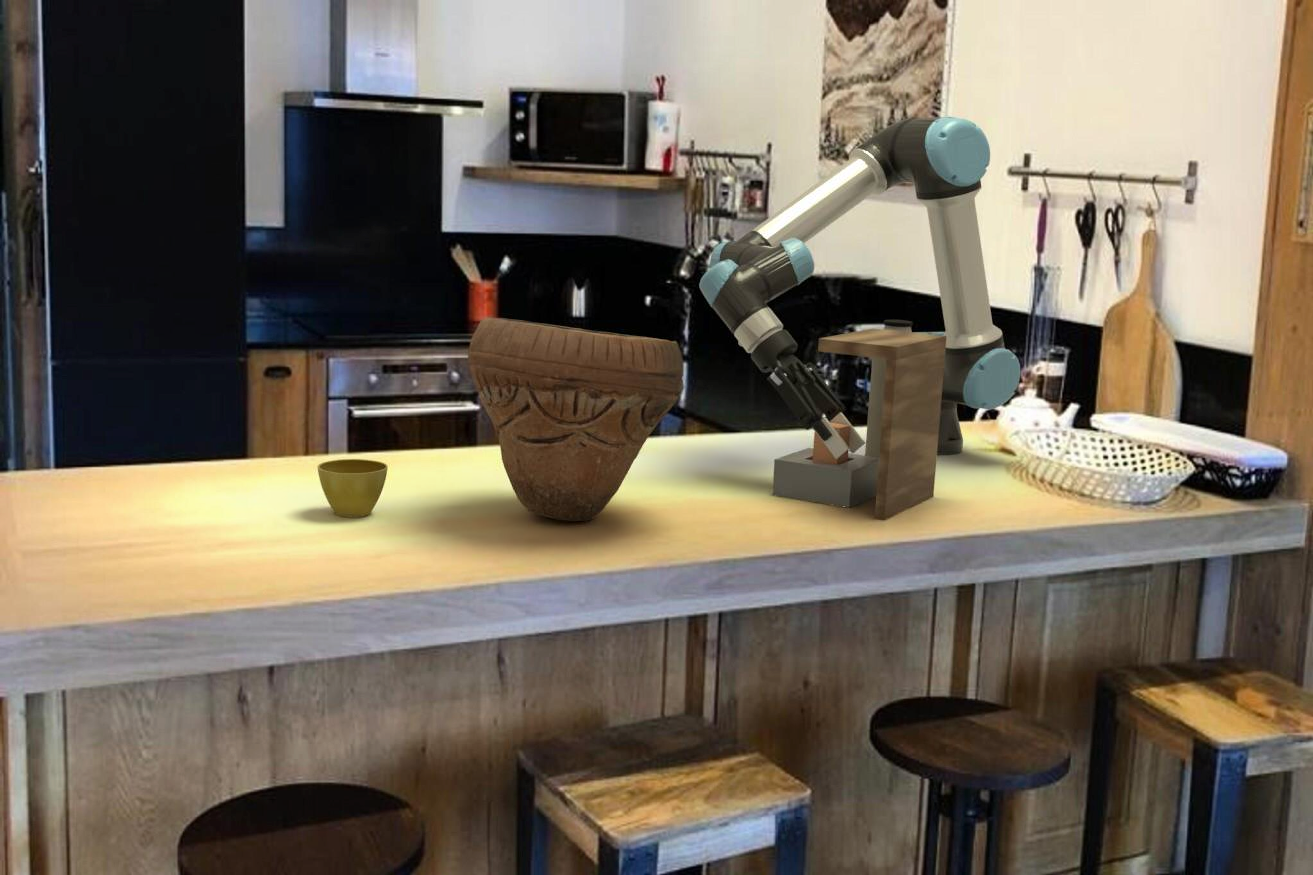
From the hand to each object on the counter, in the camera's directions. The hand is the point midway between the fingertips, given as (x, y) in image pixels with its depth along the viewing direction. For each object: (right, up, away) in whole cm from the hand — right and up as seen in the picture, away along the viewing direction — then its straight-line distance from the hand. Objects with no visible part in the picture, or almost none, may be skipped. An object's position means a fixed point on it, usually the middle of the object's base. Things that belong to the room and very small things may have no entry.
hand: (850, 450), depth 242 cm
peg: (-3, -8, +3) cm, 9 cm away
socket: (-3, -7, +3) cm, 9 cm away
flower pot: (-77, -9, -24) cm, 81 cm away
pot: (-45, -10, -19) cm, 50 cm away
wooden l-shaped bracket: (+3, -8, -1) cm, 9 cm away
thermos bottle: (+9, -5, +18) cm, 21 cm away
